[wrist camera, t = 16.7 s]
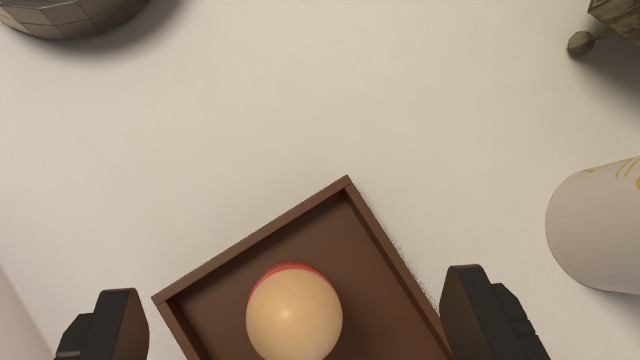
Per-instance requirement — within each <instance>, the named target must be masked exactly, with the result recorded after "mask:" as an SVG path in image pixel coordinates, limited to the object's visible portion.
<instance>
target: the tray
mask: <svg viewBox="0 0 640 360" xmlns="http://www.w3.org/2000/svg"><path fill="white" fill-rule="evenodd" d="M288 259H292V260H299V261H302V262H304V263H306V264H308V265H309V266H311V267H312V268H314V269H315V270H316V271H318V272H319V273H321V274H322V275H323V276H324V277H326V278H327V280H328V281H329V282H330V283H331V285H332V286H333V288H334V290H335V292H336V294H337V296H338V298H339V301H340V304H341V308H342V315H343V321H342V329H341V333H340V336H339V338H338V341H337V343H336V344H335V346H334V348H333V349H332V350H331V351H330V353H329V354H328V355H327V356H326V357H325V358H323V359H322V360H454V357H453V355H452V352H451V349H450V346H449V344H448V341H447V338H446V335H445V333H444V330H443V327H442V324H441V320H440V318H439V316H438V314H437V313H436V311H435V310H434V308H433V307H432V305H431V304H430V302H429V300H428V299H427V297H426V296H425V294H424V293H423V291H422V290H421V288H420V286H419V285H418V283H417V282H416V280H415V279H414V277H413V276H412V274H411V272H410V271H409V269H408V268H407V266H406V265H405V263H404V262H403V260H402V259H401V257H400V255H399V254H398V252H397V251H396V249H395V248H394V246H393V245H392V243H391V241H390V240H389V238H388V237H387V235H386V234H385V232H384V231H383V229H382V227H381V226H380V224H379V223H378V221H377V220H376V218H375V217H374V215H373V213H372V212H371V210H370V209H369V207H368V206H367V204H366V203H365V201H364V199H363V198H362V196H361V195H360V193H359V192H358V190H357V189H356V187H355V186H354V184H353V183H352V181H351V179H350V178H349V176H348V175H345V176H343V177H342V178H340V179H338V180H337V181H335V182H334V183H332V184H330V185H329V186H327V187H326V188H324V189H323V190H321V191H319V192H318V193H316V194H315V195H313V196H311V197H310V198H308V199H307V200H305V201H303V202H302V203H300V204H299V205H297V206H295V207H294V208H292V209H291V210H289V211H287V212H286V213H284V214H283V215H281V216H279V217H278V218H276V219H275V220H273V221H271V222H270V223H268V224H267V225H265V226H263V227H262V228H260V229H259V230H257V231H256V232H254V233H252V234H251V235H249V236H248V237H246V238H244V239H243V240H241V241H240V242H238V243H236V244H235V245H233V246H232V247H230V248H228V249H227V250H225V251H224V252H222V253H220V254H219V255H217V256H216V257H214V258H212V259H211V260H209V261H208V262H206V263H204V264H203V265H201V266H200V267H198V268H197V269H195V270H193V271H192V272H190V273H189V274H187V275H185V276H184V277H182V278H181V279H179V280H177V281H176V282H174V283H173V284H171V285H169V286H168V287H166V288H165V289H163V290H161V291H160V292H158V293H157V294H155V295H153V296H152V297H151V299H152V301H153V302H154V304H155V306H157V309H158V310H159V312H160V314H161V316H162V317H163V319H164V321H165V322H166V324H167V326H168V327H169V329H170V331H171V332H172V334H173V336H174V337H175V339H176V341H177V343H178V344H179V346H180V348H181V349H182V351H183V353H184V354H185V356H186V358H187V359H188V360H265V359H264V358H263V357H262V356H260V354H259V353H258V352H257V351H256V350H255V348H254V347H253V345H252V343H251V341H250V339H249V336H248V333H247V328H246V310H247V303H248V299H249V296H250V294H251V292H252V290H253V288H254V286H255V285H256V283H257V282H258V280H259V279H260V278H261V276H262V275H263V273H264V272H265V271H266V270H267V269H268V268H269V267H270V266H271V265H273V264H275V263H277V262H279V261H282V260H288Z"/></svg>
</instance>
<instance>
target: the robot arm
mask: <svg viewBox="0 0 640 360" xmlns="http://www.w3.org/2000/svg"><path fill="white" fill-rule="evenodd" d="M439 313H440V320H441V324H442V327H443V330H444V333H445V335H446V338H447V341H448V344H449V346H450V349H451V352H452V355H453V357H454V360H551V359H550V357H549V356H548V354H547V352H546V350H545V348H544V346H543V344H542V343H541V341H540V339H539V337H538V335H536V334H535V330H534V328H533V326H532V324H531V322H530V320H528V319H527V315H526V313H525V311H524V309H523V308H522V306H521V304H520V302H519V300H518V298H517V297H516V296H515V295H513V294H512V293H511V292H510V291H509V290H508V289H507V288H506V287H505V286H504V285H503V284H502V283H495V284H491V283H490V281H489V279H488V277H487V275H486V273H485V271H484V269H483V268H482V267H481V266H480V265H479V264H471V265H457V266H450V267H449V268H448V271H447V275H446V279H445V283H444V287H443V291H442V295H441V299H440V303H439ZM148 349H149V326H148V322H147V319H146V316H145V313H144V310H143V307H142V304H141V301H140V298H139V295H138V292H137V290H136V289H135V288H123V289H109V290H103V291H101V293H100V294H99V297H98V300H97V303H96V306H95V309H94V312H93V313H85V314H79V315H78V316H77V317H76V319H75V320H74V321H73V322H72V323H71V325H70V326H69V327H68V328H67V329H66V331H65V332H64V333H63V336H62V338H61V341H60V344H59V346H58V349H57V352H56V358H54V360H146V359H147V354H148Z"/></svg>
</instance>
